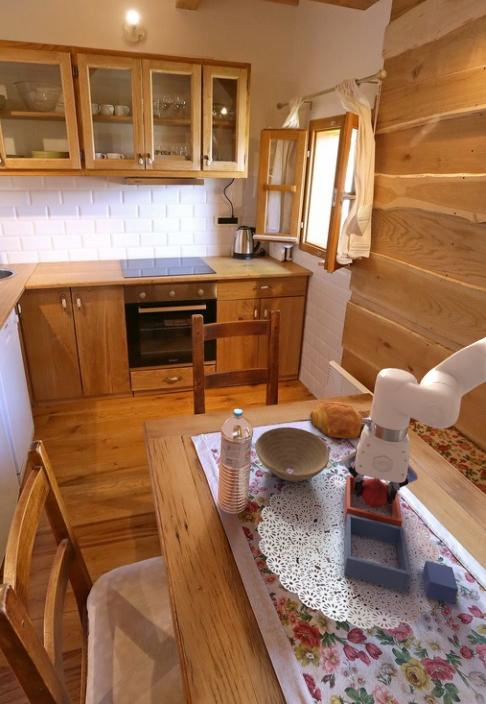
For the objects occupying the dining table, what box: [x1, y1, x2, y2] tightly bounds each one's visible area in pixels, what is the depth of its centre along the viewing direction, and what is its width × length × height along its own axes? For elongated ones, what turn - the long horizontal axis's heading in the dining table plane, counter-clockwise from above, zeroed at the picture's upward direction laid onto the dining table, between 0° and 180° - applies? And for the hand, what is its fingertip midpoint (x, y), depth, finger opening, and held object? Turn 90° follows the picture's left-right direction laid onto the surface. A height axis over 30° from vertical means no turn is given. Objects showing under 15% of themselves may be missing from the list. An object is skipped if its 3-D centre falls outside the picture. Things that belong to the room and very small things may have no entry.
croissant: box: [309, 401, 364, 439], centre depth 122 cm, size 14×16×8 cm
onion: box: [360, 477, 388, 509], centre depth 89 cm, size 6×6×8 cm
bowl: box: [254, 426, 330, 483], centre depth 102 cm, size 18×18×8 cm
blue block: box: [421, 560, 459, 604], centre depth 74 cm, size 4×4×4 cm
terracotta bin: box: [343, 474, 403, 527], centre depth 91 cm, size 11×11×5 cm
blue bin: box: [343, 514, 412, 593], centre depth 79 cm, size 11×11×5 cm
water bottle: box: [217, 408, 254, 515], centre depth 88 cm, size 7×7×25 cm
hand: (373, 495), depth 90 cm, fingers closed on onion, 5 cm apart
